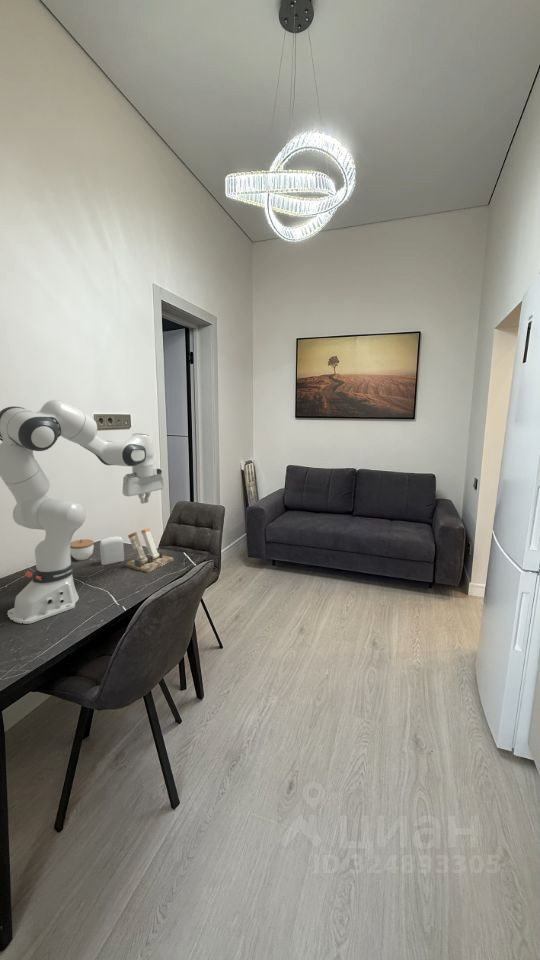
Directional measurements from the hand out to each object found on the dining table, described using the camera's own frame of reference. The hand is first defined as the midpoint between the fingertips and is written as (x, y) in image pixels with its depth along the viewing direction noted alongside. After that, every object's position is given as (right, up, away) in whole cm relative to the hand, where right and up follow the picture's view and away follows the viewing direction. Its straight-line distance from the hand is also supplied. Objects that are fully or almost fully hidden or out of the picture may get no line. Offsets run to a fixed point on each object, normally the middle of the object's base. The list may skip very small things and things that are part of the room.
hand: (144, 502), depth 165 cm
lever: (+1, -27, +13) cm, 30 cm away
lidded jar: (-36, -28, +19) cm, 50 cm away
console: (-2, -29, +13) cm, 32 cm away
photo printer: (-20, -29, +14) cm, 38 cm away
